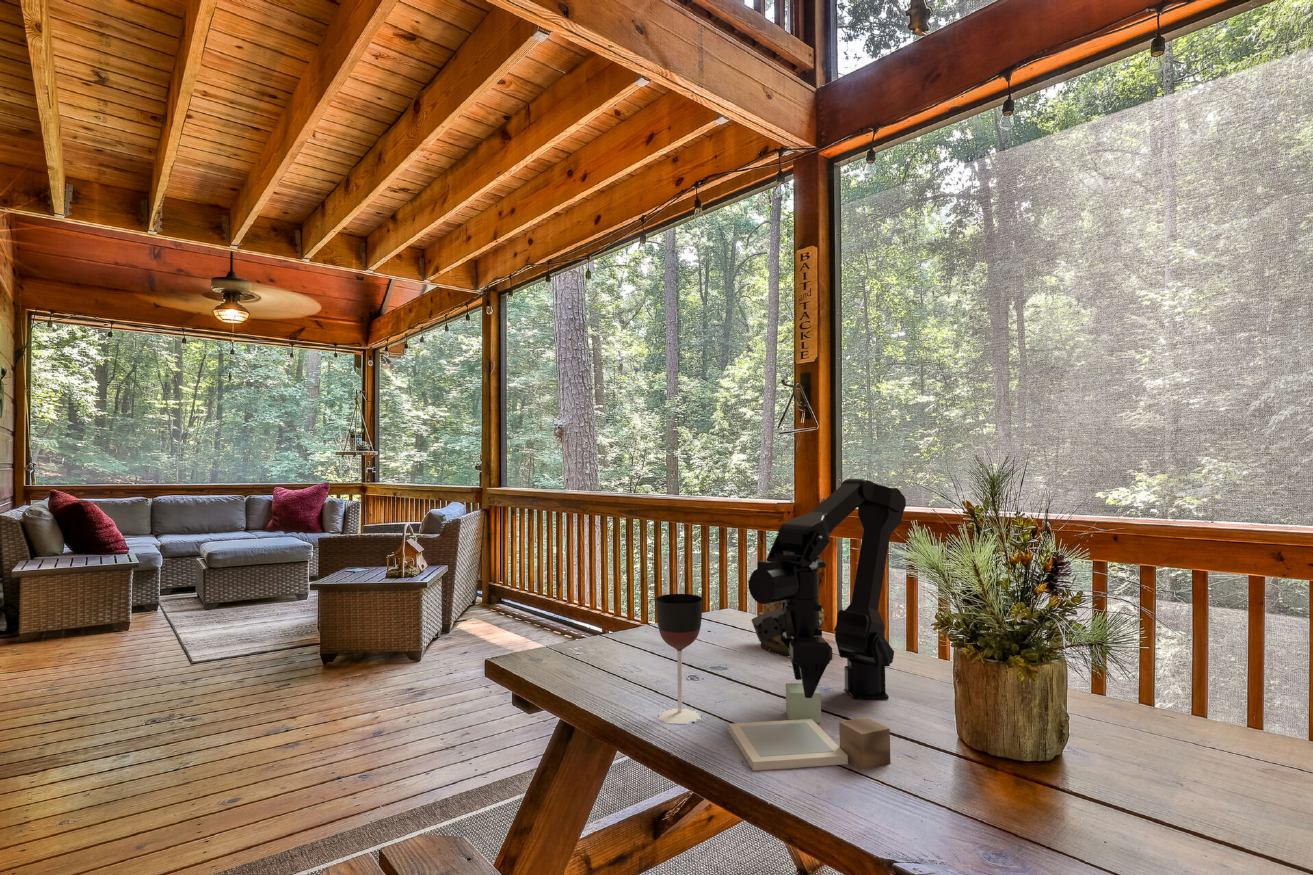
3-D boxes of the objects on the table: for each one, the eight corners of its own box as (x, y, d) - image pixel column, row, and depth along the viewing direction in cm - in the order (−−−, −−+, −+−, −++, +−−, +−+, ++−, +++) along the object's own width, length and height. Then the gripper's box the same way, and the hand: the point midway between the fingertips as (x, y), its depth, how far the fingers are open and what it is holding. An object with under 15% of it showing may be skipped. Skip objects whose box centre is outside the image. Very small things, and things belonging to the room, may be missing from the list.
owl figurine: (745, 647, 157) (744, 575, 158) (774, 638, 165) (773, 569, 166) (811, 663, 144) (809, 583, 145) (839, 652, 152) (838, 577, 153)
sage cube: (814, 712, 115) (814, 683, 115) (821, 723, 110) (820, 693, 110) (786, 712, 115) (785, 683, 116) (790, 723, 110) (790, 693, 111)
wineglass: (707, 709, 117) (706, 595, 117) (697, 728, 108) (696, 604, 109) (664, 705, 119) (663, 592, 120) (650, 723, 110) (650, 602, 111)
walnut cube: (866, 750, 100) (866, 716, 100) (890, 764, 95) (889, 728, 95) (839, 756, 98) (839, 721, 98) (862, 770, 93) (862, 734, 93)
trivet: (811, 726, 109) (811, 718, 109) (847, 764, 95) (847, 755, 95) (728, 731, 107) (728, 723, 107) (753, 770, 93) (753, 761, 93)
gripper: (749, 586, 123) (750, 671, 123) (761, 607, 105) (762, 708, 104) (809, 586, 123) (810, 671, 122) (832, 607, 104) (834, 708, 104)
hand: (803, 688), depth 113 cm, fingers open, 9 cm apart
